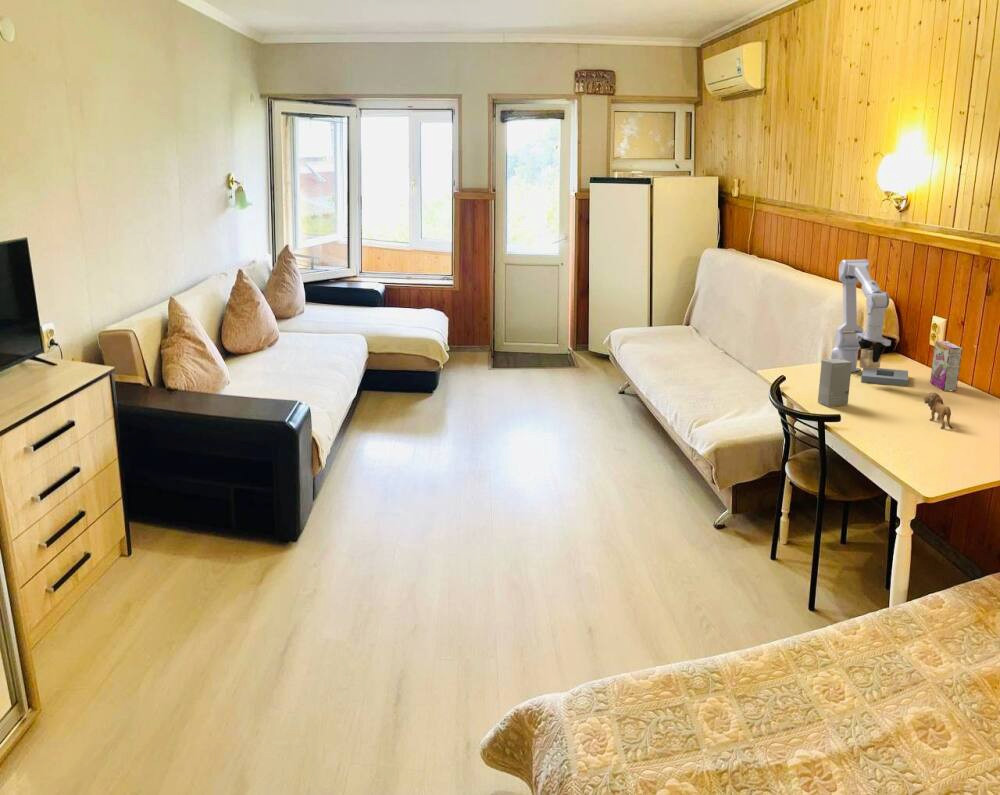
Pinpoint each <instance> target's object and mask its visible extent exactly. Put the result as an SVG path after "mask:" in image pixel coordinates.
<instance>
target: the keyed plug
mask: <svg viewBox="0 0 1000 795" xmlns="http://www.w3.org/2000/svg"><path fill="white" fill-rule="evenodd" d="M860 350H861V351H860V357H859V358H860V359H859V368H860V369H863V368H864V369H867V370H869V369H874V368H881V367H880V366H881V359H882V355H881V356H880V358H879V361H878V362H873V348H872V347H871V348H866V349H861V348H860Z"/></svg>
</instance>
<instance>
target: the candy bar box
mask: <svg viewBox="0 0 1000 795" xmlns="http://www.w3.org/2000/svg"><path fill="white" fill-rule="evenodd" d="M934 342H935V343H934V348H933V355H932V356H933V358H932V365H931V373H930V381H929V383H930V384H931V383H932V384H931V385H933V386H935V387H936V386H937V388H938V387H939V388H938V389H939V390H941V389H942V391H943V390H944V391H943V392H950V391H949V390H956V391H957V388H958V382H959V375H960V368H961V361H962V354H963V348H962V347H960V346H958V345H956V344H954V343H952V342H950V341H949V340H948V341H947V340H936V341H934Z"/></svg>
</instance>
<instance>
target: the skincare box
mask: <svg viewBox="0 0 1000 795" xmlns="http://www.w3.org/2000/svg"><path fill="white" fill-rule="evenodd" d="M820 361H821V362H820V363H821V364H820V375H819V385H818V386H819V387H818V396H817V403H819V404H822V405H823V406H826V407H827V408H832V406H834V407H841V406H840V405H842V406H848V402H849V395H850V386H851V385H850V384H851V375H852V374H851V367H852V362H850V361H847V360H843V359H831V358H830V359H821V360H820Z"/></svg>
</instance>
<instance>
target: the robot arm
mask: <svg viewBox="0 0 1000 795" xmlns="http://www.w3.org/2000/svg"><path fill="white" fill-rule="evenodd" d="M838 280H839V282H841V283H842V310H843V311H842V312H843V313H842V315H843V316H842V319H843V321H842V325H840V326H839V327H837V329H836V330H835V337H834V344H835V347H834V348H833V349H832V350H831V354H830V359H843V360H847V361H850V362H852V367H851V373H855V372H858V371H861V370H862V368H861V367H859V368H858V367H857V364H858V356H859V350H861V349H866V348H873V362H878V361H879V358H880V356H881V357H882V354H883V352H884V351H885V349H886V348H887V347H890V346H891V345H892V344H891V343H892V340H890V339H888V338H886V337H883V330H884V322H885V321H884V320H885V313H886V309H887V308H888V307H889V305H890V295H889V293H888V292H886V291H882V289H881V287H880V285H879V284H878V283H877V281H876V280H873V279H872V276H871V274H870V262H869V260H868V259H867V258H864V259H842V260H841V261H840V262H839V266H838ZM859 282H860V284H861V288H860V289H861V290H862V291H861V292H862V293H863V295H864V296H865V298H866V299H865V304H866V313H867V317H866V327H865V332H864V329H863V327H862V326H860V325H859V324H858V322H857V321H858V320H857V318H858V317H857V316H858V315H857V311H858V310H857V284H858V283H859Z"/></svg>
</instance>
